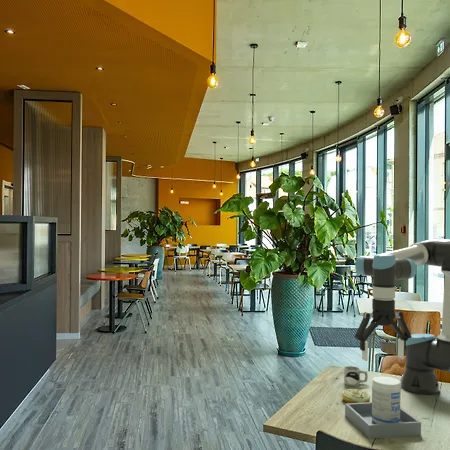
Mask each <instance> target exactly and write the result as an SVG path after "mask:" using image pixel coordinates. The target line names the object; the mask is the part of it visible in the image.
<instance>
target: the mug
mask: <svg viewBox="0 0 450 450" xmlns="http://www.w3.org/2000/svg"><path fill="white" fill-rule="evenodd" d="M343 369H344V372H343V374H344V375H343V376H344V377H343V380H344V381H343V384H345V385H346V386H350V387H358V386H360V385H361V383H366V382H368V376H369V375H368V371H365V370H361V369H360V368H359V367H357V366H352V365H349V366H348V365H347V366H344V368H343ZM361 374H364V375H365V376H364V379H361Z"/></svg>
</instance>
